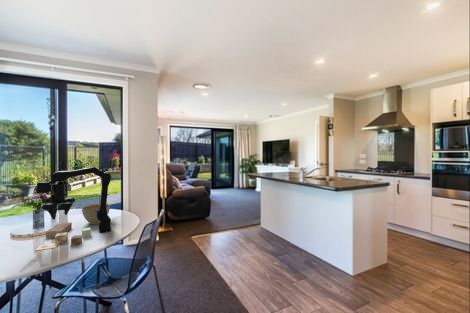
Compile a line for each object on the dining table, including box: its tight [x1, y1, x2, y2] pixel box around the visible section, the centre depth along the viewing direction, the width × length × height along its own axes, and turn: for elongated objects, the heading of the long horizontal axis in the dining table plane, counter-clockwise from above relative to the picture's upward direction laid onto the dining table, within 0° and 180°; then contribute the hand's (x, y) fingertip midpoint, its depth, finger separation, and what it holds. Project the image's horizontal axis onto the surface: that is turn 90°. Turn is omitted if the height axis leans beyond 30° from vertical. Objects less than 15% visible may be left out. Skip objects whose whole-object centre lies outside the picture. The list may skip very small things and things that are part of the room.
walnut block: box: [70, 234, 83, 247], centre depth 131 cm, size 4×4×4 cm
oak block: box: [54, 232, 69, 244], centre depth 135 cm, size 5×5×4 cm
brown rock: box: [45, 222, 73, 239], centre depth 148 cm, size 17×8×5 cm, turn 15°
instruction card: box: [34, 242, 60, 252], centre depth 127 cm, size 9×7×1 cm
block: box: [81, 227, 92, 239], centre depth 143 cm, size 4×4×4 cm
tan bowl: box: [81, 203, 111, 225], centre depth 169 cm, size 18×18×12 cm
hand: (60, 217), depth 138 cm, fingers open, 9 cm apart
